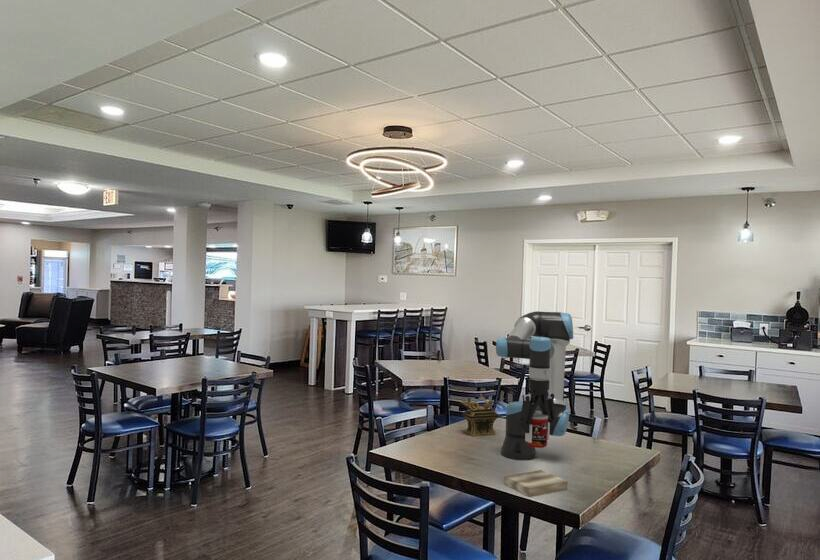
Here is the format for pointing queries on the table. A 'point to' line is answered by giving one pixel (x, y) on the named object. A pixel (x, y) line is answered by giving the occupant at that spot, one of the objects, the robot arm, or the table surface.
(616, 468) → the table surface
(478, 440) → the table surface
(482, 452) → the table surface
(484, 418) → the decorative box
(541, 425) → the canned food
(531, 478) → the pale wooden plank
